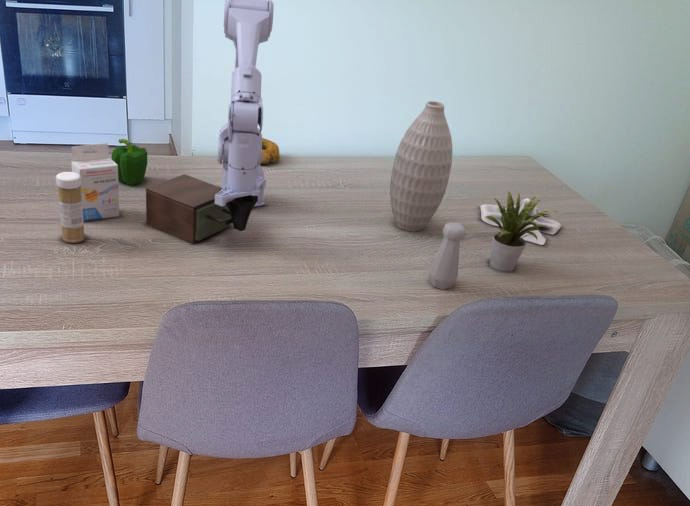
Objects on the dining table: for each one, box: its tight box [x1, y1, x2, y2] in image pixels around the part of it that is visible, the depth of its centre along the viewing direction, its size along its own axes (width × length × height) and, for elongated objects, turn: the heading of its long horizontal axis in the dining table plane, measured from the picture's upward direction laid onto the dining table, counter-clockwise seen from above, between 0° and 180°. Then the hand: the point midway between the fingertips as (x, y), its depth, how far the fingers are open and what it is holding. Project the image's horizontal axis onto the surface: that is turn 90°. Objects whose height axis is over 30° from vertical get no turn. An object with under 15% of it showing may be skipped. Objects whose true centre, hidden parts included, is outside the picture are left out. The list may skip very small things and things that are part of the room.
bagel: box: [260, 137, 281, 165], centre depth 192 cm, size 10×11×5 cm
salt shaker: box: [428, 221, 467, 290], centre depth 140 cm, size 6×6×13 cm
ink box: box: [70, 142, 120, 222], centre depth 150 cm, size 8×5×15 cm, turn 124°
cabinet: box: [145, 173, 230, 245], centre depth 152 cm, size 13×12×8 cm
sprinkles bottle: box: [55, 171, 86, 244], centre depth 140 cm, size 5×5×14 cm
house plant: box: [486, 190, 558, 272], centre depth 148 cm, size 14×14×16 cm
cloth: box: [479, 198, 562, 246], centre depth 172 cm, size 22×19×6 cm
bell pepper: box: [111, 138, 148, 186], centre depth 169 cm, size 8×8×10 cm
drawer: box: [195, 201, 233, 242], centre depth 151 cm, size 17×11×7 cm, turn 56°
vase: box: [389, 100, 453, 232], centre depth 158 cm, size 13×13×28 cm
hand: (239, 228), depth 147 cm, fingers closed, pressing on drawer
